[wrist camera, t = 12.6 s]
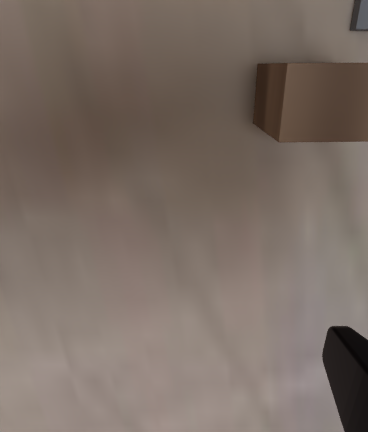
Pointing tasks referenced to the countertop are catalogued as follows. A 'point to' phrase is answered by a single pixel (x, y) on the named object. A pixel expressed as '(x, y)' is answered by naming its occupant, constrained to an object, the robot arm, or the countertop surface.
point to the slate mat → (360, 15)
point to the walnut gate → (312, 101)
